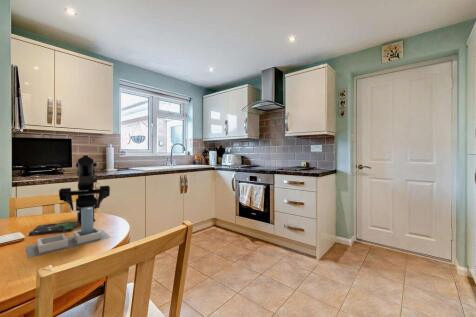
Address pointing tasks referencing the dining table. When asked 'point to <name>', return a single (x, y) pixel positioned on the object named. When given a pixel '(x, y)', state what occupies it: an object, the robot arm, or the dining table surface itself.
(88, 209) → the plug
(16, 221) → the dining table surface
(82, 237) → the grey double socket base
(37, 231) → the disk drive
